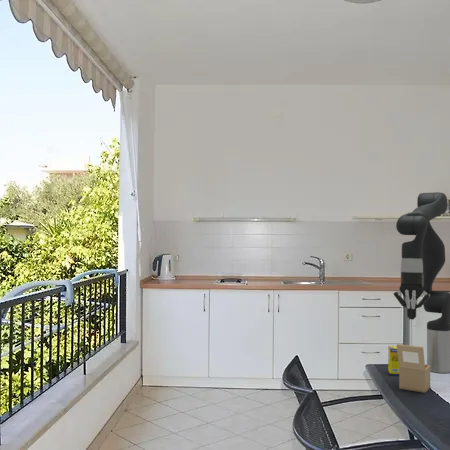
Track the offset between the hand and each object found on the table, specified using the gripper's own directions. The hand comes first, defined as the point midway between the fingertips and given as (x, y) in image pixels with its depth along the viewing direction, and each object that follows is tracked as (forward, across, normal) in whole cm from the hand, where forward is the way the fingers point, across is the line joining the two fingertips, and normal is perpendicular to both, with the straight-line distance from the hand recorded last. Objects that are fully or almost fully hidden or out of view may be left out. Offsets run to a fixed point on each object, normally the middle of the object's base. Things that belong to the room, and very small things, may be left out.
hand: (411, 319), depth 188 cm
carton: (+26, 0, -6) cm, 26 cm away
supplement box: (+26, +11, -22) cm, 36 cm away
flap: (+13, 0, +1) cm, 13 cm away
